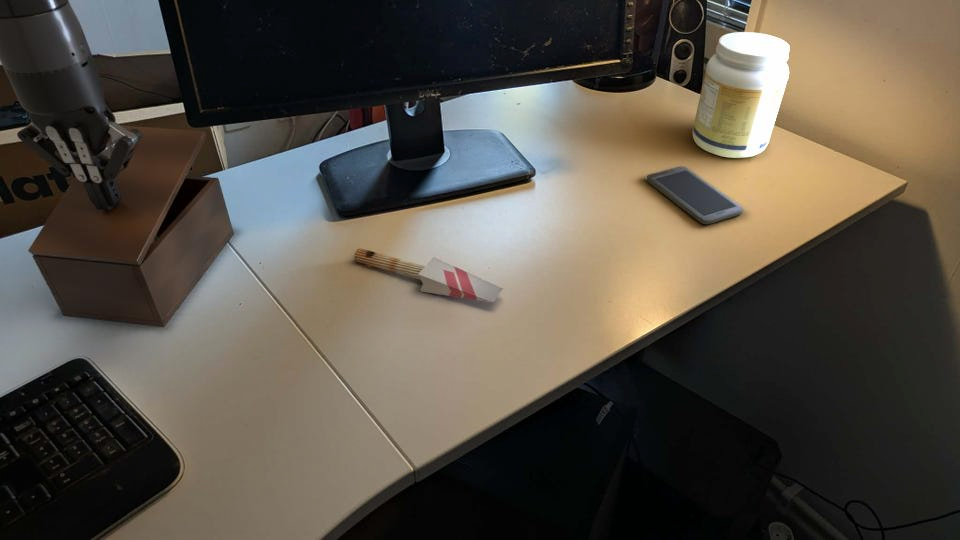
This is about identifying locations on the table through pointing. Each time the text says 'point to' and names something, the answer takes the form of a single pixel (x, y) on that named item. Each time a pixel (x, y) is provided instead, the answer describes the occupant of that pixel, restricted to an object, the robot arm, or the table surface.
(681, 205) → the cell phone
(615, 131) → the table surface
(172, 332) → the table surface
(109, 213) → the lid
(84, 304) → the chest
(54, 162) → the robot arm
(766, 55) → the supplement tub
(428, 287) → the white and wood paddle
